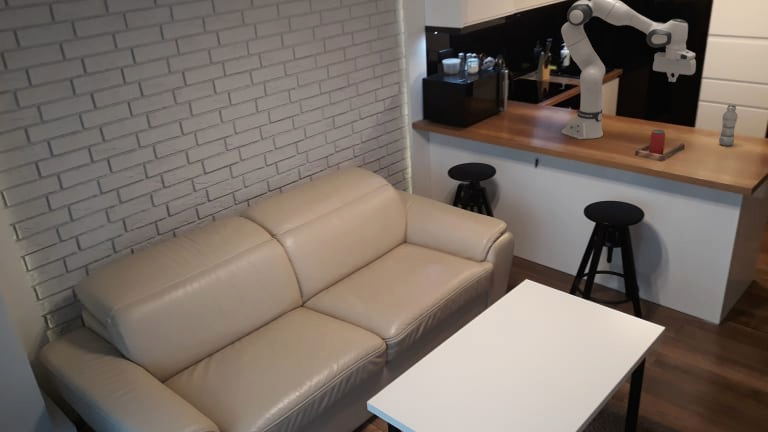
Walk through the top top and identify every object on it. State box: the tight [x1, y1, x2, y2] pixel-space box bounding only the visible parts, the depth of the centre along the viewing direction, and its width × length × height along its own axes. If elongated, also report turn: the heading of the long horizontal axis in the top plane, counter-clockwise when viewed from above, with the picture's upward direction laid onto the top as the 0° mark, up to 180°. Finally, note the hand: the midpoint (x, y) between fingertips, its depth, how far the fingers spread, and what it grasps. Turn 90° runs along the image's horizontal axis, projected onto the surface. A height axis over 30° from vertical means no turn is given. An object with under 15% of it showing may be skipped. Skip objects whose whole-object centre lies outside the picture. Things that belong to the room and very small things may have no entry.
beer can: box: [648, 129, 666, 155], centre depth 301 cm, size 7×7×12 cm
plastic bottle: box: [718, 104, 738, 146], centre depth 301 cm, size 6×7×20 cm
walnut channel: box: [635, 142, 686, 162], centre depth 305 cm, size 14×22×2 cm, turn 129°
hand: (672, 81), depth 305 cm, fingers closed
